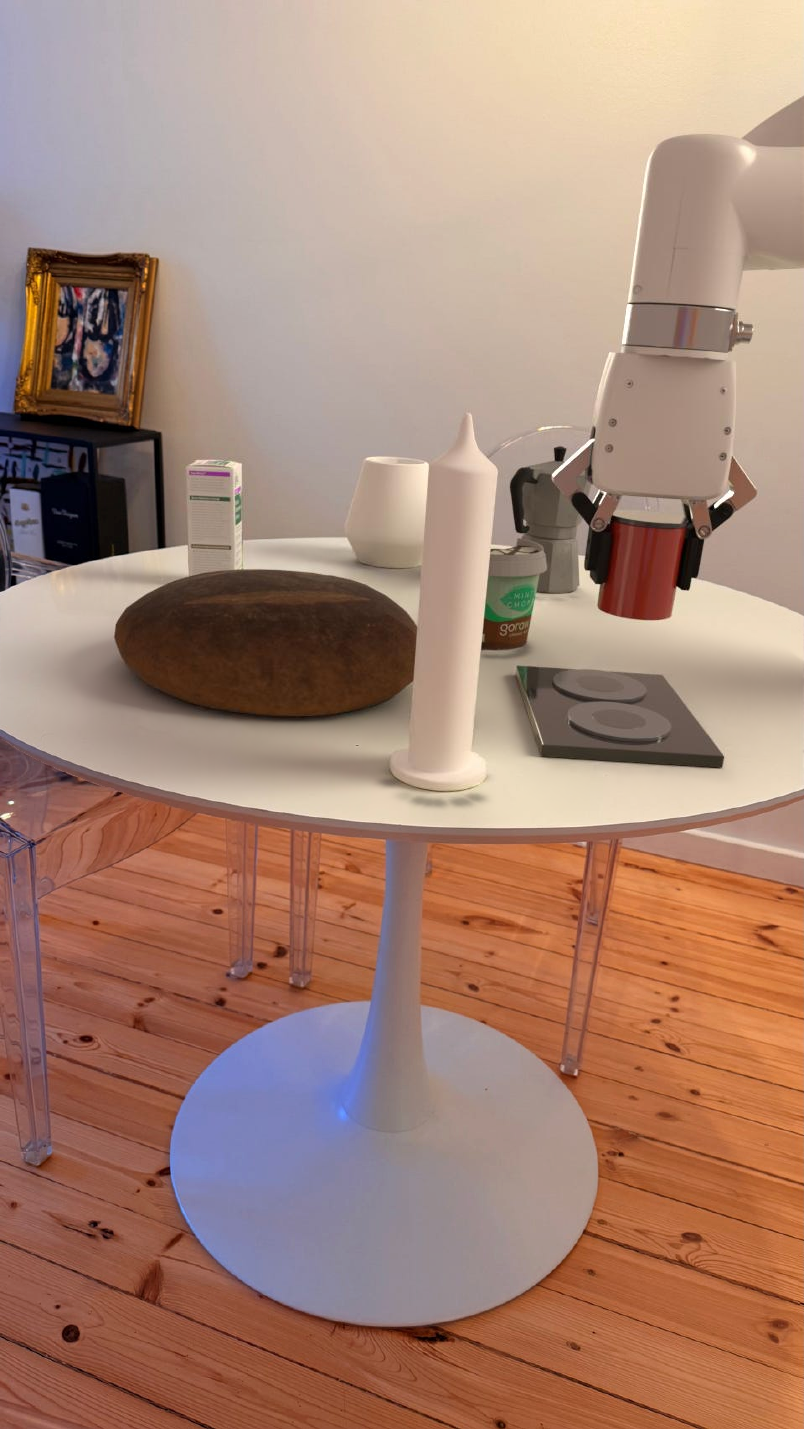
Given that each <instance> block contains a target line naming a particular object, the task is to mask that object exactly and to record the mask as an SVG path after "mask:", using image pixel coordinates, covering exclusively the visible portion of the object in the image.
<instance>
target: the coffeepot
mask: <svg viewBox="0 0 804 1429" xmlns="http://www.w3.org/2000/svg"><path fill="white" fill-rule="evenodd" d="M567 449H568V448H566V447H564V446H561V445H559V446H555V447H553V458H554V460H552V461H547V462H541V463H537V464H532V465H531V464H530V465H527V466H524V467H523V466H522V467H520V468H518V469H517V470H516V472H515V473H514V475H513V476H512V478H511V479H510V482H509V492H510V498H511V507H512V515H513V522H514V530H515V532H516V533H517V534H521V535H522V536H521V538H520V539H524V540H529V541H532V542H535V543H537V544H540V545H541V546H542V547H543V548H544V553H545V555H546V564H547V570H546V571H545V572H543V573H540V575H539V580H538V585H537V590H536V593H542V594H543V593H546V594H569V593H573V592H575V591H577V589H578V587H580V566H579V564H580V563H579V561H580V560H579V540H578V539H577V538H576V537H577V532H578V526H579V525H581V523H582V521H583V518H582V517H581V515H580V514H579V513H578V512H577V510H576V509H575V508H574V507H573V505H572V504H571V503H570V502H569V500H568V499H567V498H566V497H565V496H564V495H563V493H562V492H561V491H560V490H559V489H558V488H557V486H556V485H555V484H554V483H553V481H552V478H551V477H552V474H553V473H554V472H555V471H556V470H557V469H558V468H560V467H561V466H562V465H563V464H564V463H565V462H566V461H564V460H565V456H566V454H567ZM576 483H577V485H578V486H579V487H580V489H581V490H582V491H583V492H584V493H585V494H586V496H587V497H588V498H589V495H590V491H591V488H592V484H591V483H590V482H588V481H587V480H586V479H585V476H584V471H583V472H582V473H581V474H580V475H579V476H578V477H577V480H576ZM524 521H525V524H524Z"/></svg>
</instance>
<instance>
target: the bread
mask: <svg viewBox="0 0 804 1429" xmlns="http://www.w3.org/2000/svg"><path fill="white" fill-rule="evenodd" d="M113 638H114V642H115V644H116V648H117V649H118V652H119V655H120V657H121V659H122V661H123V662H124V664H125V665H126V666H127V667H128V668H129V669H130V670H132V672H134V674H136V675H137V677H139V678H140V680H142V681H143V682H144V683H146V684H148V685H149V686H151V687H153V688H155V689H157V690H159V691H161V692H162V693H163V692H164V693H165V694H167V695H170V696H173V697H174V698H178V699H179V700H183V701H185V702H188V703H191V704H193V705H196V706H200V707H204V708H208V709H213V710H219V711H227V712H232V713H241V714H247V715H256V716H257V715H258V716H266V717H315V716H316V717H320V716H330V715H331V716H332V715H337V714H343V713H349V712H353V711H357V710H361V709H365V708H368V707H372V706H375V705H378V704H381V703H383V702H385V701H388V700H391V699H393V698H394V697H396V695H398V694H399V693H400V692H402V691H403V690H405V689H406V688H407V687H408V686H409V685H410V684H411V683H413V681H414V667H415V653H416V639H417V624H416V622H415V620H413V618H412V617H411V615H410V614H409V613H408V611H407V610H405V609H404V608H403V607H402V606H400V605H399V604H398V603H397V602H396V601H394V600H393V599H392V598H390V597H389V596H388V595H386V594H384V593H382V592H380V591H378V590H376V589H374V588H373V587H371V586H370V585H368V584H366V583H362V582H359V581H356V580H354V579H350V578H346V577H341V576H337V575H332V574H331V575H330V574H321V573H317V572H308V571H299V570H286V569H265V568H264V569H263V568H260V569H259V568H255V569H254V568H247V569H245V568H243V569H241V570H223V571H214V572H206V573H201V574H197V575H192V576H189V575H188V576H185V577H182V578H178V579H175V580H173V581H170V582H168V583H165V584H164V585H161V586H159V587H157V588H155V589H153V590H151V591H149V592H147V593H146V594H144V595H143V596H141V597H139V598H138V599H137V600H136V601H134V602H133V603H131V604H129V605H128V606H127V607H126V608H125V609H124V611H123V612H122V613H121V614H120V616H119V617H118V619H117V621H116V623H115V627H114V636H113Z"/></svg>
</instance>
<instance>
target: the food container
mask: <svg viewBox="0 0 804 1429" xmlns="http://www.w3.org/2000/svg"><path fill="white" fill-rule="evenodd" d="M546 570H547V564H546V555H545V553H544V548H543V547H542V546H541V545H540V544H537V543H535V542H532V541H529V540H524V539H521V538H519V537H517V539H516V544H515V546H512V547H509V548H491V549H490V560H489V570H488V581H487V591H486V602H485V612H484V623H483V633H482V643H481V650H495V651H496V650H498V651H499V650H511V649H512V650H513V649H516V648H521V647H523V646H525V645H526V644H527V641H528V637H529V631H530V626H531V622H532V615H533V610H534V605H535V600H536V596H537V592H536V590H537V585H538V580H539V575H540V573H543V572H545V571H546Z"/></svg>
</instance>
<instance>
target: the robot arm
mask: <svg viewBox="0 0 804 1429" xmlns="http://www.w3.org/2000/svg"><path fill="white" fill-rule="evenodd" d="M645 168H646V169H645V173H644V180H643V187H642V193H641V194H642V196H641V203H640V210H639V217H638V227H637V231H636V232H637V233H636V241H635V247H634V254H633V262H632V268H631V269H632V270H631V277H630V284H629V291H628V298H627V305H626V311H625V319H624V327H623V334H622V339H621V341H622V342H621V346H620V347H621V349H620V352H612V351H611V352H609V353H608V356H607V358H606V360H605V365H604V368H603V371H602V374H601V375H602V376H601V378H600V382H599V384H598V385H599V386H598V390H597V393H596V399H595V401H594V402H595V403H594V407H593V412H592V416H591V423H590V427H589V433H588V437H587V442H586V443H585V444H584V445H583V446H582V447H581V448H580V449H578V450H577V451H575V453H574V454H573V455H572V456H571V457H569V458H568V459H567V460H565V461H564V462H565V463H564V464H563V465H562V466H561V467H560V468H558V469H557V470H556V471H555V472H554V473H553V474H552V477H551V478H552V481H553V483H554V484H555V485H556V486H557V488H558V489H559V490H560V491H561V492H562V493H563V495H564V496H565V497H566V498H567V499H568V500H569V502H570V503H571V504H572V505H573V507H574V508H575V509H576V510H577V512H578V513H579V514H580V515H581V517H582V520H583V521H584V522H585V523H586V525H587V526H588V530H587V539H586V546H585V554H584V560H583V561H584V562H583V563H584V564H583V567H584V568H583V569H584V570H585V571H587V572H589V578H590V579H591V581H592V582H593V583H594V584H595V585H600V584H601V585H602V584H603V583H605V582H606V576H607V569H608V562H609V555H610V548H611V541H612V534H611V533H610V532H609V531H608V530H609V521H610V519H611V517H612V515H613V513H614V511H615V510H617V507H619V504H620V502H621V500H622V498H623V497H624V496H627V497H641V498H653V499H654V498H655V499H665V500H666V499H667V500H668V499H669V500H680V502H681V506H682V511H683V515H684V516H683V517H684V518H686V519H688V520H689V525H688V527H687V529H686V535H685V541H684V547H683V553H682V559H681V565H680V571H679V577H678V582H677V588H678V589H680V590H681V591H687V592H688V591H690V589H691V584H692V579H697V578H698V576H699V574H700V568H701V561H702V555H703V550H704V545H705V540H707V539H708V538H710V537H711V535H712V534H713V532H714V531H715V530H716V529H718V528H719V527H720V526H721V525H723V524H724V523H725V522H726V521H728V520H729V519H730V518H732V516H733V514H735V513H736V512H738V511H739V510H740V509H743V507H744V506H746V505H747V504H749V503H750V502H751V501H752V500H754V499H755V498H756V497H757V495H758V491H757V490H758V489H757V487H755V485H754V484H753V482H752V481H751V479H750V478H749V477H748V475H747V474H746V472H745V471H744V470H743V468H742V466H741V465H740V464H739V462H738V461H737V459H736V457H735V456H734V455H733V450H734V441H735V431H736V420H737V419H736V418H737V417H736V416H737V394H738V392H737V390H738V388H737V387H738V379H737V375H738V374H737V361H736V360H729V353H732V352H733V348H734V347H735V346H738V345H739V344H744V345H745V344H746V345H749V344H750V343H751V341H752V338H753V335H754V334H753V333H754V326H753V324H752V323H744V322H743V321H742V320H740V318H739V312H737V307H738V303H739V302H738V301H739V297H740V296H739V295H740V290H741V285H742V279H743V273H744V271H745V272H747V271H763V270H768V271H778V270H779V271H780V270H797V269H798V270H799V269H804V95H802V96H801V97H799V98H797V99H796V100H794V101H792V102H791V103H788V104H787V105H786V106H784V107H782V108H781V109H779V110H778V111H776V112H775V113H773V114H772V115H770V116H769V117H768V118H766V119H764V120H763V121H762V122H760V123H759V124H757V125H756V126H755V127H754V128H753V129H751V130H750V131H749V132H748V133H746V134H745V135H743V136H742V137H741V138H740V137H737V136H733V135H727V134H714V133H692V134H682V135H675V136H672V137H670V138H667V139H664V140H662V141H661V142H659V143H658V144H657V145H655V147H654V148H653V150H652V151H651V153H650V155H649V157H648V160H647V163H646V167H645ZM583 471H584V476H585V479H586V480H587V481H588V482H590V483H591V485H593V486H594V487H595V488H596V489H597V490H598V491H597V493H596V495H595V497H594V498H593V501H592V500H591V499H590V498H589V496H588V497H587V496H586V494H585V493H584V492H583V491H582V490H581V489H580V487H579V486H578V485H577V483H576V480H577V477H578V476H579V475H580V474H581V473H582V472H583ZM727 484H728V486H729V490H728V492H727V493H726V494H725V495H723V493H724V492H725V490H726V487H727ZM721 495H723V497H722V498H721V499H719V500H716V501H714V502H712V504H710V505H709V506H708V502H707V501H710V500H713V499H717V498H719V497H720V496H721Z"/></svg>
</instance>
